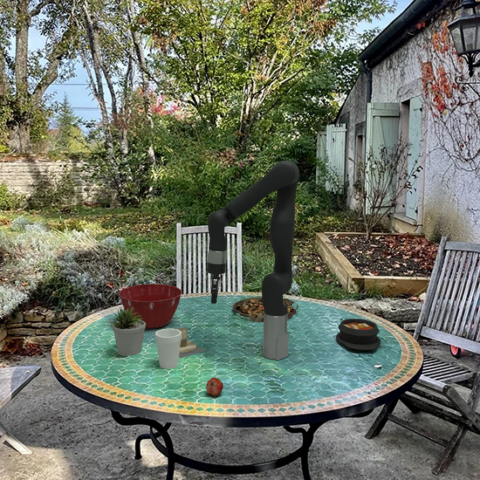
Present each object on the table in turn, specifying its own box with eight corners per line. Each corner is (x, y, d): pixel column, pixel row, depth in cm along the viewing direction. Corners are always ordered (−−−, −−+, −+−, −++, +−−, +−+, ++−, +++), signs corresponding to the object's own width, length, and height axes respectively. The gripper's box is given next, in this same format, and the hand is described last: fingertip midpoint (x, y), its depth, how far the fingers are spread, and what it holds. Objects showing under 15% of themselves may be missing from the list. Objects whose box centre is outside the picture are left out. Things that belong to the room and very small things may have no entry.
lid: (201, 348, 191) (201, 329, 190) (178, 355, 184) (178, 335, 183) (185, 341, 199) (185, 322, 198) (163, 347, 192) (162, 328, 191)
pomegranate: (209, 394, 159) (198, 388, 154) (217, 378, 161) (206, 371, 155) (222, 401, 156) (211, 395, 150) (230, 385, 158) (220, 378, 152)
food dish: (281, 330, 221) (281, 313, 219) (220, 318, 237) (219, 303, 236) (310, 308, 251) (310, 294, 249) (254, 299, 267) (253, 286, 266)
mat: (206, 352, 190) (206, 350, 190) (181, 360, 182) (181, 358, 182) (183, 340, 202) (183, 339, 202) (158, 347, 194) (158, 345, 194)
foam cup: (182, 361, 181) (182, 328, 179) (180, 372, 172) (180, 337, 170) (157, 361, 180) (157, 328, 178) (153, 372, 171) (153, 337, 169)
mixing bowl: (189, 330, 215) (189, 296, 212) (124, 337, 204) (123, 302, 202) (174, 312, 240) (173, 282, 238) (115, 317, 230) (114, 286, 228)
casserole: (386, 355, 190) (387, 335, 189) (338, 353, 192) (339, 333, 190) (374, 333, 215) (376, 315, 213) (332, 331, 216) (333, 313, 215)
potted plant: (108, 349, 192) (107, 300, 188) (143, 345, 196) (142, 297, 193) (111, 361, 180) (110, 309, 177) (148, 356, 185) (147, 306, 182)
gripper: (225, 265, 183) (223, 306, 185) (226, 257, 197) (224, 295, 200) (206, 264, 182) (203, 305, 185) (208, 256, 196) (206, 294, 199)
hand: (214, 300), depth 192 cm, fingers open, 8 cm apart
